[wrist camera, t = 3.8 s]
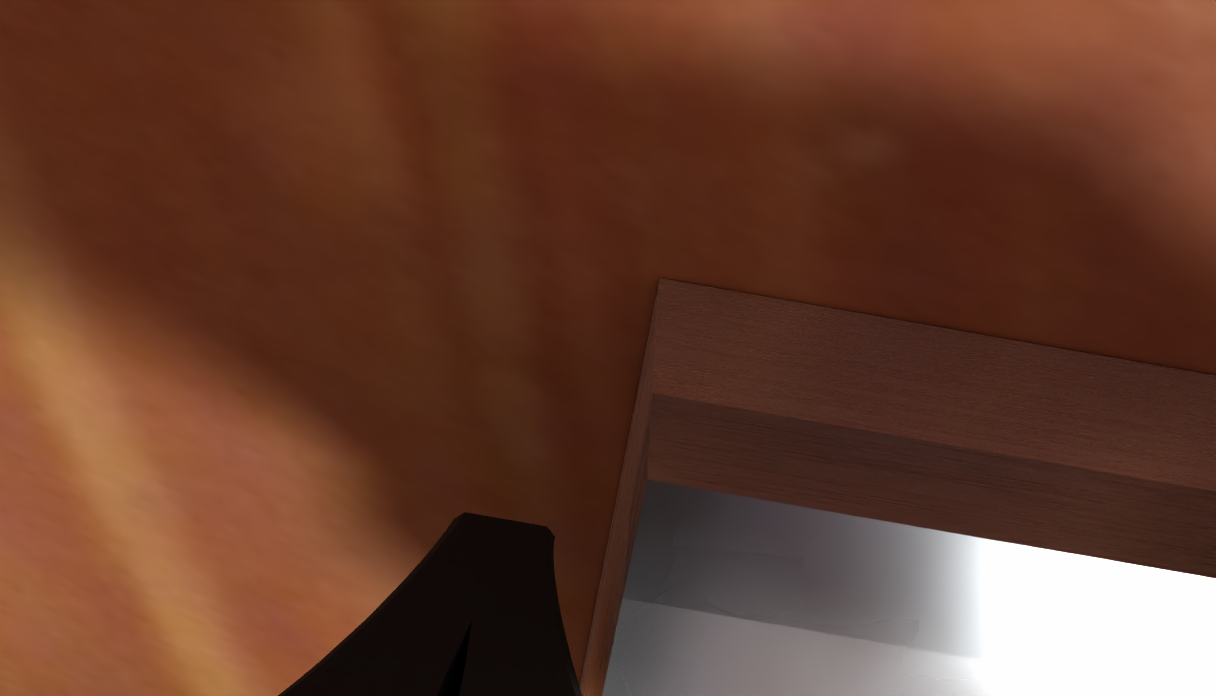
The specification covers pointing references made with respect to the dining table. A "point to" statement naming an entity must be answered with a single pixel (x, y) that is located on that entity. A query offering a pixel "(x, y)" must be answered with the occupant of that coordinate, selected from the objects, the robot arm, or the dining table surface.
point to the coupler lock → (903, 513)
